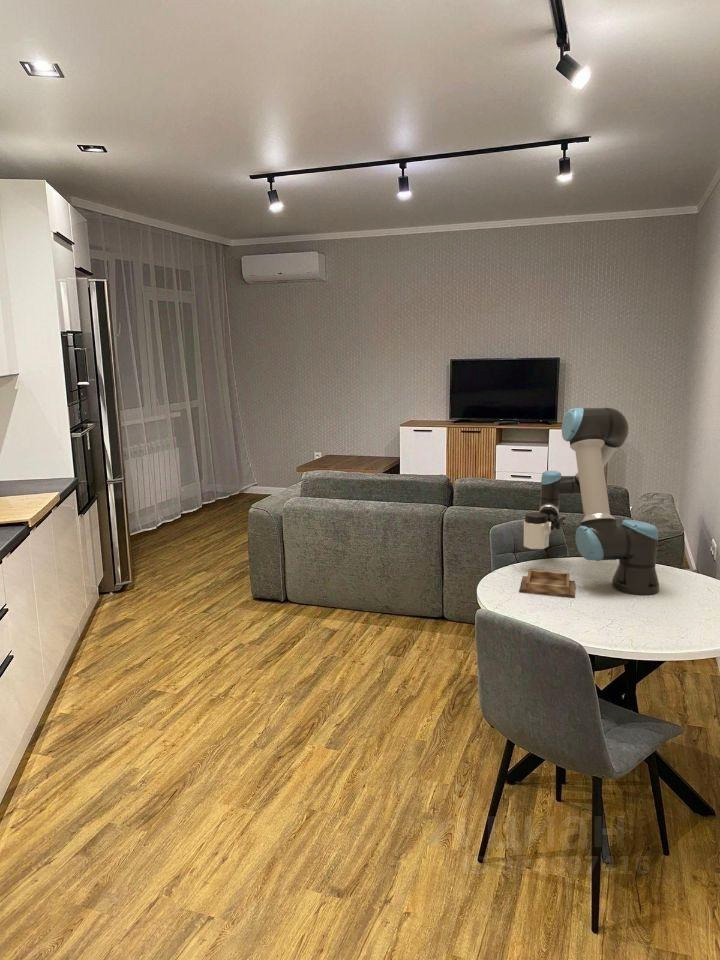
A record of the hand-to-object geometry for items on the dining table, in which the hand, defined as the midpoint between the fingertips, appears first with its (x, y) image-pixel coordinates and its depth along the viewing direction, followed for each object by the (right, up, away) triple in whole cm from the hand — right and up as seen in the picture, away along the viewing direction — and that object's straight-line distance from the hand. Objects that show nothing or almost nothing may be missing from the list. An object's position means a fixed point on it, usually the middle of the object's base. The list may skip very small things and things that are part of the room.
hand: (545, 529), depth 256 cm
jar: (-2, -7, +7) cm, 10 cm away
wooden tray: (-2, -19, -10) cm, 22 cm away
